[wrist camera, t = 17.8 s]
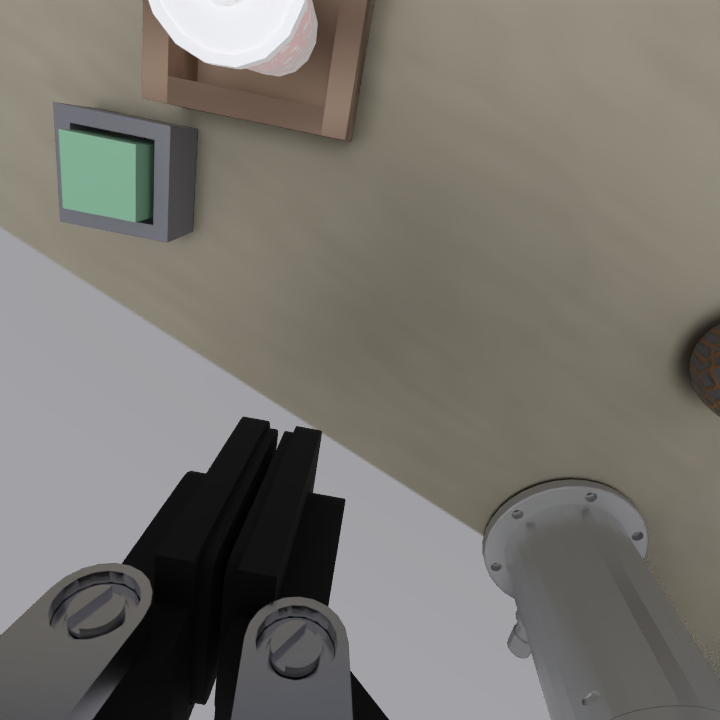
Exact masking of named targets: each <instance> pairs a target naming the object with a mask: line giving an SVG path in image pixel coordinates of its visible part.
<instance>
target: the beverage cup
mask: <svg viewBox="0 0 720 720" xmlns="http://www.w3.org/2000/svg"><path fill="white" fill-rule="evenodd" d="M148 1H149V4H150V7H151V9H152V12H153V14H154V16H155V17H156V18H157V20H158V21H159V22H160V24H161V25H162V26H163V28H164V29H165V30H166V31H167V33H168V34H169V35H170V37H171V38H172V39H173V41H174V42H175V43H176V44H177V45H178V46H180V47H182V48H183V49H185V50H186V51H188V52H189V53H191V54H192V55H194V56H196V57H197V58H199V59H200V60H202V61H203V62H205V63H207V64H211V65H216V66H222V67H228V68H234V69H241V70H242V69H245V68H246V69H249V70H252V71H255V72H258V73H262V74H266V75H273V76H279V77H280V76H283V75H286V74H290V73H293V72H295V71H297V70H298V69H299V68H300V67H301V66H302V65H303V64H304V63H305V62H306V61H308V59H309V57H310V55H311V53H312V50H313V48H314V46H315V44H316V37H317V26H318V22H317V18H316V14H315V10H314V6H313V2H312V0H148Z"/></svg>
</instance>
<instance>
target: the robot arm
mask: <svg viewBox="0 0 720 720" xmlns="http://www.w3.org/2000/svg"><path fill="white" fill-rule="evenodd" d="M321 435H322V431H320V430H315V429H309V428H304V427H298V426H296V428H295V430H294V432H287V431H285V432H284V434H283V436H282V439H281V441H280V443H279V445H278V448H277V450H276V447H277V438H278V430H276V429H270V423H269V421H265V420H259V419H254V418H248V417H242V419H241V420H240V421H239V423H238V425H237V426H236V428H235V430H234V431H233V432H232V434H231V436H230V437H229V439H228V440H227V442H226V443H225V445H224V446H223V448H222V450H221V451H220V453H219V454H218V456H217V458H216V459H215V461H214V462H213V464H212V466H211V467H210V468H209V470H208V472H207V473H206V474H205V473H200V472H194V471H189V472H187V473H186V474H185V475H184V477H183V478H182V480H181V481H180V482H179V484H178V485H177V487H176V488H175V490H174V491H173V492H172V494H171V495H170V497H169V498H168V499H167V501H166V502H165V503H164V505H163V506H162V508H161V509H160V510H159V512H158V513H157V515H156V516H155V518H154V519H153V520H152V522H151V523H150V525H149V526H148V527H147V529H146V530H145V532H144V533H143V535H142V536H141V537H140V539H139V540H138V542H137V543H136V544H135V546H134V547H133V549H132V550H131V551H130V553H129V554H128V556H127V557H126V559H125V560H124V562H123V563H122V564H118V563H108V564H98V565H94V566H90V567H86V568H83V569H80V570H79V571H76V572H74V573H72V574H70V575H68V576H66V577H64V578H63V579H62V580H61V581H59V582H58V583H56V584H55V585H54V586H53V587H51V588H50V589H49V590H48V591H47V592H46V593H45V594H44V595H43V596H42V597H41V598H40V599H39V600H37V601H36V603H34V604H33V605H32V606H31V607H30V608H29V609H28V610H27V611H26V612H25V613H24V614H23V615H22V616H21V617H20V618H19V619H17V620H16V621H15V622H14V623H13V624H12V625H11V626H10V627H9V628H8V629H7V630H6V631H5V632H4V633H3V634H1V635H0V720H189V717H190V715H191V712H192V709H193V707H194V704H195V703H197V704H203V705H205V704H206V702H207V700H208V698H209V696H210V693H211V690H212V687H213V685H214V682H215V679H216V691H215V718H214V720H389V719H388V718H387V717H386V716H385V714H384V713H383V712H382V711H381V709H380V708H379V706H378V705H377V704H376V703H375V701H374V700H373V699H372V698H371V696H370V695H369V694H368V692H366V690H365V689H364V687H363V686H362V685H361V684H360V682H359V681H358V680H357V679H356V677H355V676H354V675H353V674H352V672H351V671H350V660H349V643H348V638H347V633H346V629H345V627H344V625H343V623H342V622H341V620H340V618H339V617H338V615H337V614H335V613H334V612H333V611H332V610H331V609H330V608H329V607H328V604H329V598H330V591H331V586H332V579H333V573H334V567H335V561H336V555H337V549H338V543H339V536H340V530H341V524H342V518H343V512H344V506H345V499H342V498H337V497H332V496H326V495H321V494H315V493H313V488H314V482H315V475H316V468H317V462H318V454H319V448H320V442H321ZM647 546H648V534H647V528H646V526H645V523H644V520H643V518H642V517H641V515H640V514H639V512H638V511H637V509H636V508H635V506H634V505H633V504H632V503H631V502H630V501H629V500H628V499H627V498H626V497H625V496H624V495H622V494H621V493H619V492H618V491H616V490H615V489H612V488H610V487H608V486H605V485H603V484H600V483H596V482H591V481H587V480H571V479H570V480H559V481H552V482H548V483H544V484H540V485H537V486H534V487H532V488H529V489H527V490H525V491H523V492H521V493H519V494H518V495H516V496H514V497H513V498H511V499H510V500H509V501H507V502H506V503H505V504H504V505H503V506H502V507H500V508H499V510H498V511H497V512H496V513H495V515H494V516H493V517H492V518H491V520H490V522H489V524H488V526H487V528H486V530H485V534H484V538H483V556H484V561H485V565H486V568H487V570H488V573H489V575H490V577H491V578H492V580H493V581H494V582H495V584H496V585H497V586H498V587H499V588H500V589H501V590H502V591H504V592H505V593H506V594H508V595H509V596H511V597H513V598H514V599H515V602H516V605H517V609H518V610H517V612H516V619H517V621H518V622H517V624H516V625H515V626H514V628H513V630H512V632H511V634H510V637H509V639H508V642H507V644H508V648H509V649H510V651H511V652H512V653H513V654H514V655H515V656H517V657H519V658H527V657H528V656H529V655H530V653H532V656H533V660H534V663H535V667H536V670H537V673H538V677H539V680H540V684H541V687H542V690H543V694H544V697H545V701H546V704H547V708H548V711H549V714H550V718H551V720H720V680H719V678H718V677H717V675H716V673H715V672H714V670H713V669H712V667H711V665H710V664H709V662H708V661H707V659H706V658H705V656H704V654H703V653H702V651H701V650H700V648H699V647H698V645H697V643H696V642H695V640H694V639H693V637H692V635H691V634H690V632H689V631H688V629H687V628H686V626H685V624H684V623H683V621H682V620H681V618H680V617H679V615H678V613H677V612H676V610H675V609H674V607H673V605H672V604H671V602H670V601H669V599H668V598H667V596H666V594H665V593H664V591H663V590H662V588H661V587H660V585H659V583H658V582H657V580H656V579H655V577H654V575H653V574H652V572H651V571H650V569H649V568H648V566H647V564H646V563H645V561H644V558H645V555H646V552H647ZM216 676H217V677H216Z"/></svg>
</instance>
